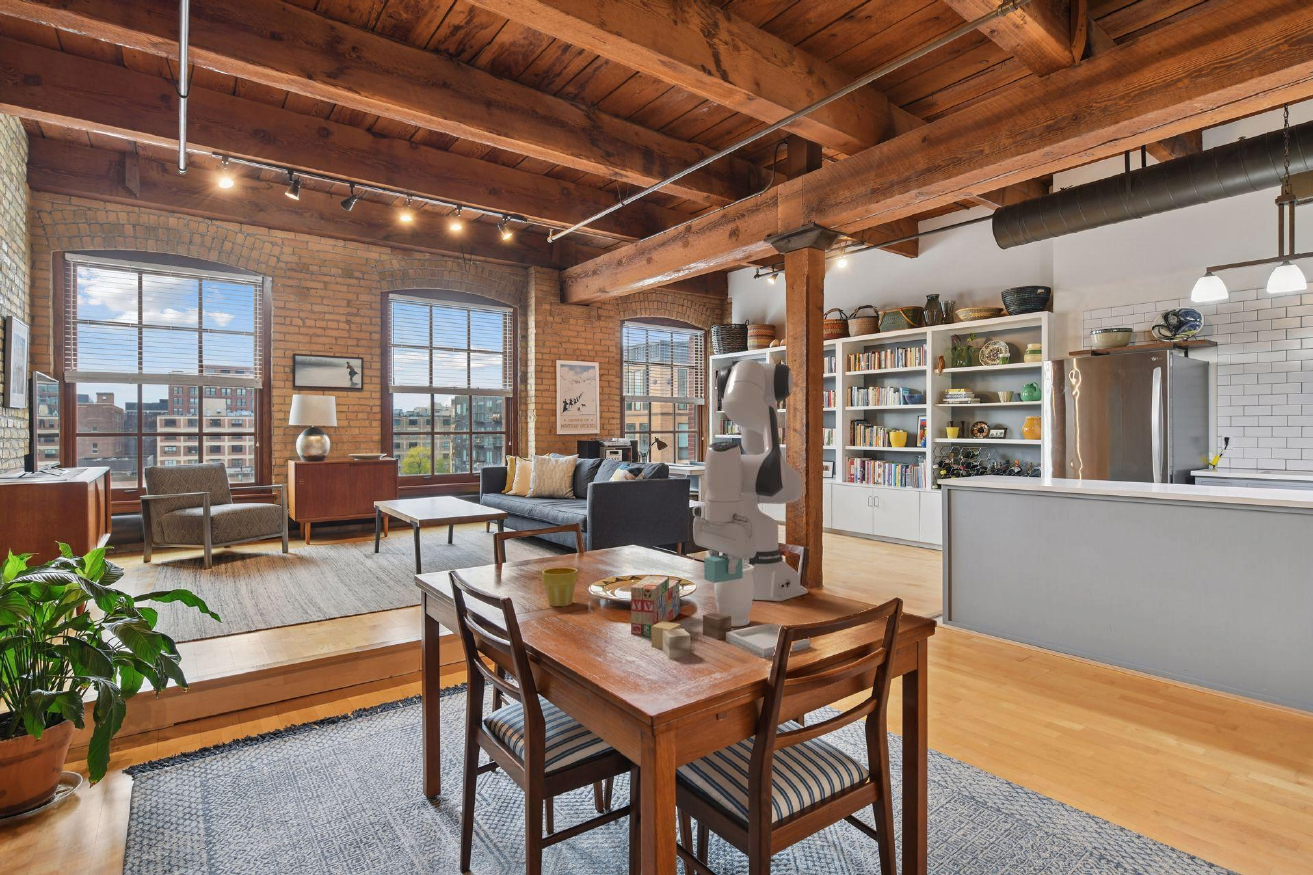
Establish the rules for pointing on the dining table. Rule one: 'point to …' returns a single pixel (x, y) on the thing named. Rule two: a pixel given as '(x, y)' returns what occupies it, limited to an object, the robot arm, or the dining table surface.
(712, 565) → the teal brick
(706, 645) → the dining table surface
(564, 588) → the plant pot
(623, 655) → the dining table surface
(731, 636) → the tray
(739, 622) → the jar
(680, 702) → the dining table surface
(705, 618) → the walnut cube
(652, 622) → the stack of blocks
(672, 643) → the maple cube
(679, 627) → the ochre cube
